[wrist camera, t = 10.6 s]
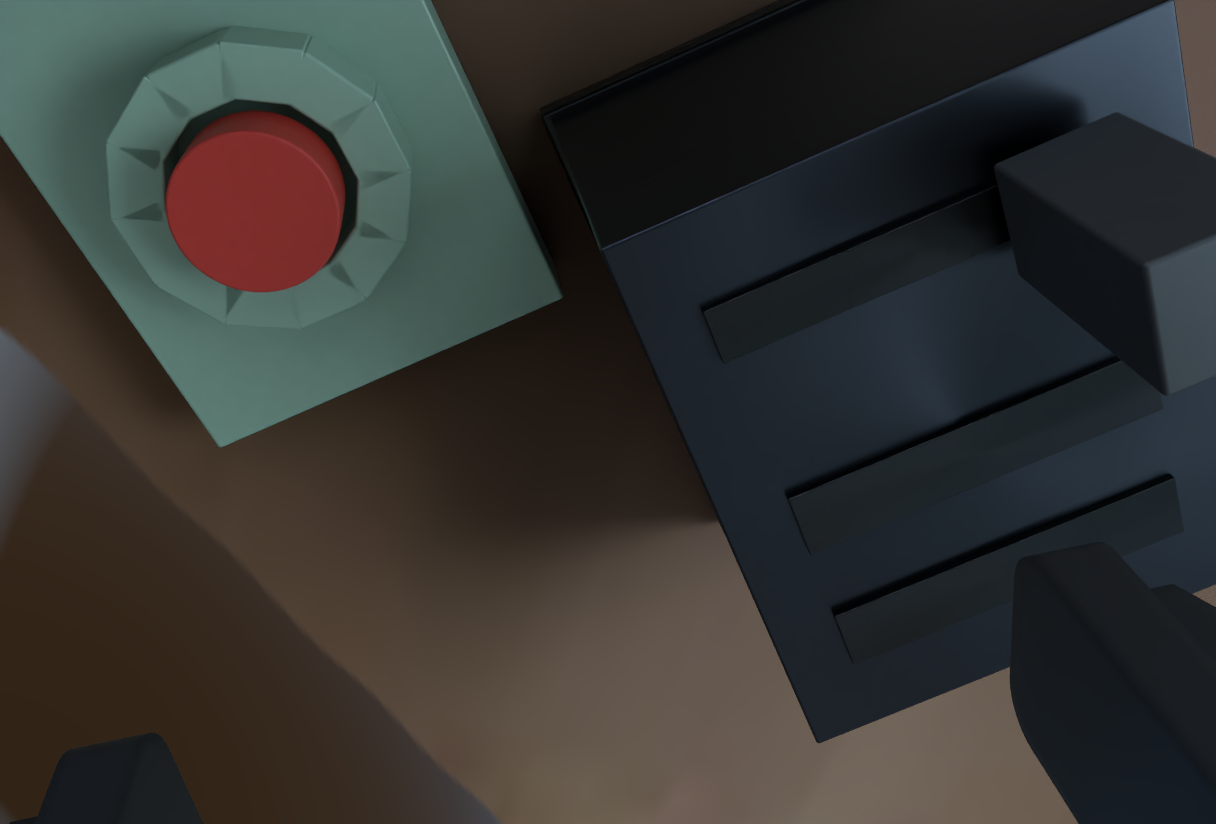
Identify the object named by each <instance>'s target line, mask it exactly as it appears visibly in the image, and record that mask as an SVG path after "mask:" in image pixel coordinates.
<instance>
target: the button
mask: <svg viewBox="0 0 1216 824" xmlns="http://www.w3.org/2000/svg"><path fill="white" fill-rule="evenodd" d="M345 198H346V197H345V184H344V179H343V175H342V172H341V169H340V166H339V164H338V162H337V160H336V158H335V156H334V155H333V153H332V152H331V150H330V149H329V147H328V146H327V145H326V144H325V142H324V141H323V140H322V139H321V138H320V137H319V136H318V135H317V134H316V133H314V132H313V131H312V130H310V129H309V128H308V127H306V126H305V125H303V124H301V123H300V122H298V121H296V120H294V119H292V118H289V117H287V116H284V115H281V114H277V113H273V112H267V111H253V110H252V111H241V112H237V113H232V114H229V115H226V116H223V117H221V118H219V119H217V120H215V121H213V122H212V123H210V124H209V125H207V126H206V127H205V128H203V129H202V130H201V131H200V132H199V133H198V134H197V135H196V136H195V138H194V139H193V140H192V142H191V143H190V145H189V146H188V148H187V149H186V151H185V152H184V154H183V155H182V157H181V158H180V160H179V162H178V163H177V165H176V166H175V168H174V170H173V172H172V174H171V176H170V179H169V182H168V185H167V191H166V200H165V208H166V217H167V221H168V225H169V229H170V231H171V233H172V236H173V238H174V240H175V242H176V244H177V245H178V247H179V249H180V250H181V251H182V253H183V254H184V255H185V257H186V258H187V259H188V260H189V261H190V262H191V263H192V264H193V265H194V266H195V267H196V268H197V269H198V270H200V271H201V272H202V273H203V274H205V275H206V276H208V277H210V278H211V279H213V280H215V281H217V282H219V283H221V284H223V285H226V286H228V287H231V288H234V289H238V290H242V291H248V292H275V291H280V290H284V289H288V288H291V287H294V286H296V285H299V284H300V283H302V282H304V281H306V280H308V279H309V278H310V277H312V276H313V275H315V274H316V273H317V272H318V271H319V270H320V269H321V268H322V267H323V266H324V265H325V263H326V262H327V261H328V260H329V258H330V256H331V255H332V253H333V251H334V249H335V247H336V244H337V242H338V238H339V234H340V229H341V224H342V219H343V213H344V208H345Z"/></svg>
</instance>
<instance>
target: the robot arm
mask: <svg viewBox="0 0 1216 824" xmlns="http://www.w3.org/2000/svg"><path fill="white" fill-rule="evenodd" d="M1010 689H1011V695H1012V700H1013V705H1014V709H1015V712H1016V716H1017V718H1018V721H1019V724H1020V727H1021V729H1022V732H1023V734H1024V736H1025V738H1026V740H1027V742H1028V744H1029V745H1030V747H1031V749H1032V750H1033V752H1034V754H1035V755H1036V757H1037V758H1038V760H1039V761H1040V763H1041V765H1042V766H1043V768H1044V769H1045V771H1046V773H1047V774H1048V776H1049V777H1050V779H1051V781H1052V782H1053V784H1054V785H1055V787H1056V788H1057V790H1058V792H1059V793H1060V795H1061V796H1062V798H1063V800H1064V801H1065V803H1066V804H1067V806H1068V807H1069V809H1070V811H1071V812H1072V814H1073V815H1074V817H1075V819H1076V820H1077V822H1078V823H1079V824H1216V607H1214V606H1212V605H1211V604H1209V603H1207V602H1205V601H1203V600H1202V599H1200V598H1198V597H1196V596H1194V595H1193V594H1191V593H1189V592H1187V591H1185V590H1183V589H1182V588H1180V587H1178V586H1176V585H1174V584H1170V585H1165V586H1160V587H1155V588H1151V589H1150V588H1149V587H1148V586H1147V585H1146V584H1145V583H1144V582H1143V581H1142V579H1141V578H1140V577H1139V576H1138V575H1137V574H1136V573H1135V572H1134V571H1133V570H1132V568H1131V567H1130V566H1129V565H1128V564H1127V563H1126V562H1125V561H1124V560H1123V558H1122V557H1121V556H1120V555H1119V554H1118V553H1117V552H1116V551H1115V550H1114V549H1113V548H1112V547H1111V546H1109V545H1108V544H1106V543H1103V542H1094V543H1089V544H1084V545H1079V546H1074V547H1069V548H1065V549H1060V550H1055V551H1050V552H1045V553H1040V554H1035V555H1030V556H1026V557H1023V558H1021V559H1020V560H1019V561H1018V563H1017V565H1016V569H1015V575H1014V594H1013V616H1012V638H1011V660H1010ZM10 824H203V822H202V819H201V817H200V815H199V813H198V811H197V808H196V806H195V804H194V802H193V800H192V798H191V795H190V793H189V791H188V789H187V787H186V785H185V783H184V780H183V778H182V776H181V774H180V772H179V770H178V768H177V765H176V763H175V761H174V759H173V756H172V754H171V752H170V750H169V748H168V746H167V744H166V742H165V741H164V740H163V738H161V736H159V735H158V734H156V733H147V734H142V735H138V736H133V737H128V738H123V739H118V740H113V741H108V742H103V743H98V744H93V745H89V746H84V747H79V748H75V749H70V750H68V751H67V752H65V753H64V754H63V755H62V757H61V758H60V760H59V762H58V764H57V766H56V769H55V771H54V774H53V777H52V779H51V782H50V785H49V787H48V790H47V793H46V795H45V798H44V801H43V803H42V806H41V809H40V811H39V814H38V816H37V817H33V818H28V819H23V820H19V821H14V822H10Z"/></svg>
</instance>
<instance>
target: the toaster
mask: <svg viewBox="0 0 1216 824" xmlns="http://www.w3.org/2000/svg"><path fill="white" fill-rule="evenodd" d="M1115 112H1120V113H1122V114H1124V115H1126V116H1128V117H1130V118H1132V119H1134V120H1137V121H1139V122H1141V123H1143V124H1145V125H1147V126H1149V127H1151V128H1153V129H1156V130H1158V131H1160V132H1162V133H1164V134H1166V135H1168V136H1170V137H1172V138H1175V139H1177V140H1179V141H1181V142H1183V143H1185V144H1187V145H1189V146H1191V147H1194V144H1193V136H1192V129H1191V122H1190V114H1189V107H1188V99H1187V92H1186V84H1185V77H1184V70H1183V62H1182V55H1181V47H1180V40H1179V32H1178V25H1177V17H1176V10H1175V3H1174V0H780V1H778V2H775V3H773V4H771V5H769V6H766V7H764V8H762V9H760V10H758V11H755V12H753V13H751V14H749V15H746V16H744V17H742V18H740V19H738V20H735V21H733V22H731V23H729V24H726V25H724V26H722V27H720V28H718V29H715V30H713V31H711V32H709V33H706V34H704V35H702V36H700V37H698V38H695V39H693V40H691V41H689V42H686V43H684V44H682V45H680V46H678V47H675V48H673V49H671V50H669V51H666V52H664V53H662V54H660V55H658V56H655V57H653V58H651V59H649V60H646V61H644V62H642V63H640V64H638V65H635V66H633V67H631V68H629V69H626V70H624V71H622V72H620V73H618V74H615V75H613V76H611V77H609V78H607V79H604V80H602V81H600V82H598V83H595V84H593V85H591V86H589V87H587V88H584V89H582V90H580V91H578V92H575V93H573V94H571V95H569V96H567V97H564V98H562V99H560V100H558V101H555V102H553V103H551V104H549V105H547V106H544V107H542V108H541V109H540V110H539V113H540V116H541V119H542V121H543V124H544V126H545V128H546V130H547V133H548V135H549V137H550V139H551V142H552V144H553V146H554V148H555V151H556V153H557V155H558V158H559V160H560V162H561V164H562V167H563V169H564V171H565V173H566V176H567V178H568V180H569V182H570V185H571V187H572V189H573V192H574V194H575V196H576V198H577V201H578V203H579V205H580V207H581V210H582V212H583V214H584V217H585V219H586V221H587V223H588V226H589V228H590V230H591V232H592V235H593V237H594V239H595V241H596V244H597V246H598V248H599V251H600V253H601V255H602V257H603V260H604V262H605V264H606V266H607V269H608V271H609V273H610V275H611V278H612V280H613V282H614V285H615V287H616V289H617V291H618V294H619V296H620V298H621V300H622V303H623V305H624V307H625V310H626V312H627V314H628V316H629V319H630V321H631V323H632V325H633V328H634V330H635V332H636V334H637V337H638V339H639V341H640V344H641V346H642V348H643V350H644V353H645V355H646V357H647V359H648V362H649V364H650V366H651V368H652V371H653V373H654V375H655V378H656V380H657V382H658V384H659V387H660V389H661V391H662V393H663V396H664V398H665V400H666V402H667V405H668V407H669V409H670V412H671V414H672V416H673V418H674V421H675V423H676V425H677V427H678V430H679V432H680V434H681V437H682V439H683V441H684V443H685V446H686V448H687V450H688V452H689V455H690V457H691V459H692V461H693V464H694V466H695V468H696V471H697V473H698V475H699V477H700V480H701V482H702V484H703V486H704V489H705V491H706V493H707V495H708V498H709V500H710V502H711V505H712V507H713V509H714V511H715V514H716V516H717V518H718V520H719V523H720V525H721V527H722V530H723V532H724V533H725V536H726V538H727V540H728V543H729V545H730V547H731V549H732V552H733V554H734V556H735V558H736V561H737V563H738V565H739V567H740V570H741V572H742V574H743V577H744V579H745V581H746V583H747V586H748V588H749V590H750V592H751V595H752V597H753V599H754V601H755V604H756V606H757V608H758V611H759V613H760V615H761V617H762V620H763V622H764V624H765V626H766V629H767V631H768V633H769V636H770V638H771V640H772V642H773V645H774V647H775V649H776V651H777V654H778V656H779V658H780V660H781V663H782V665H783V667H784V670H785V672H786V674H787V676H788V679H789V681H790V683H791V685H792V688H793V690H794V692H795V695H796V697H797V699H798V701H799V704H800V706H801V708H802V710H803V713H804V715H805V717H806V719H807V722H808V724H809V726H810V729H811V731H812V733H813V735H814V738H815V740H816V742H817V743H821V742H824V741H826V740H829V739H831V738H834V737H836V736H839V735H841V734H844V733H846V732H849V731H851V730H854V729H856V728H859V727H861V726H864V725H866V724H869V723H871V722H874V721H876V720H879V719H881V718H884V717H886V716H889V715H891V714H894V713H896V712H899V711H901V710H904V709H906V708H909V707H911V706H913V705H916V704H918V703H921V702H923V701H926V700H928V699H931V698H933V697H936V696H938V695H941V694H943V693H946V692H948V691H951V690H953V689H956V688H958V687H961V686H963V685H966V684H968V683H971V682H973V681H976V680H978V679H981V678H983V677H986V676H988V675H991V674H993V673H996V672H998V671H1001V670H1003V669H1006V668H1008V667H1010V660H1011V638H1012V616H1013V594H1014V575H1015V569H1016V565H1017V563H1018V561H1019V560H1020V559H1021V558H1023V557H1026V556H1030V555H1035V554H1040V553H1045V552H1050V551H1055V550H1060V549H1065V548H1069V547H1074V546H1079V545H1084V544H1089V543H1094V542H1103V543H1106V544H1108V545H1109V546H1111V547H1112V548H1113V549H1114V550H1115V551H1116V552H1117V553H1118V554H1119V555H1120V556H1121V557H1122V558H1123V560H1124V561H1125V562H1126V563H1127V564H1128V565H1129V566H1130V567H1131V568H1132V570H1133V571H1134V572H1135V573H1136V574H1137V575H1138V576H1139V577H1140V578H1141V579H1142V581H1143V582H1144V583H1145V584H1146V585H1147V586H1148V587H1149V588H1150V589H1151V588H1155V587H1160V586H1165V585H1170V584H1174V585H1176V586H1178V587H1180V588H1182V589H1183V590H1185V591H1187V592H1189V593H1191V594H1193V593H1195V592H1198V591H1200V590H1203V589H1205V588H1207V587H1210V586H1212V585H1215V584H1216V377H1214V378H1212V379H1209V380H1207V381H1205V382H1202V383H1200V384H1197V385H1195V386H1193V387H1190V388H1188V389H1185V390H1183V391H1181V392H1178V393H1176V394H1173V395H1171V396H1164V395H1163V394H1161V393H1160V392H1159V391H1158V390H1157V389H1155V388H1154V387H1153V386H1152V385H1151V384H1149V383H1148V382H1147V381H1146V380H1144V379H1143V378H1142V377H1141V376H1140V375H1138V374H1137V373H1136V372H1135V371H1134V370H1132V369H1131V368H1130V367H1129V366H1128V365H1126V364H1125V363H1124V362H1123V361H1122V360H1120V359H1119V358H1118V357H1117V356H1116V355H1114V354H1113V353H1112V352H1111V351H1109V350H1108V349H1107V348H1106V347H1105V346H1103V345H1102V344H1101V343H1100V342H1099V341H1097V340H1096V339H1095V338H1094V337H1093V336H1091V335H1090V334H1089V333H1088V332H1087V331H1085V330H1084V329H1083V328H1082V327H1080V326H1079V325H1078V324H1077V323H1076V322H1074V321H1073V320H1072V319H1071V318H1070V317H1068V316H1067V315H1066V314H1065V313H1064V312H1062V311H1061V310H1060V309H1059V308H1058V307H1056V306H1055V305H1054V304H1053V303H1052V302H1050V301H1049V300H1048V299H1047V298H1045V297H1044V296H1043V295H1042V294H1041V293H1039V292H1038V291H1037V290H1036V289H1035V288H1033V287H1032V286H1031V285H1030V284H1029V283H1027V282H1026V281H1025V280H1024V279H1023V278H1021V277H1020V276H1019V274H1018V270H1017V266H1016V262H1015V257H1014V253H1013V249H1012V244H1011V240H1010V236H1009V231H1008V227H1007V223H1006V219H1005V214H1004V210H1003V206H1002V201H1001V197H1000V193H999V188H998V184H997V180H996V176H995V171H994V166H995V165H996V164H997V163H999V162H1002V161H1004V160H1006V159H1009V158H1011V157H1013V156H1015V155H1018V154H1020V153H1022V152H1025V151H1027V150H1029V149H1032V148H1034V147H1036V146H1039V145H1041V144H1043V143H1045V142H1048V141H1050V140H1052V139H1055V138H1057V137H1059V136H1062V135H1064V134H1066V133H1068V132H1071V131H1073V130H1075V129H1078V128H1080V127H1082V126H1085V125H1087V124H1089V123H1092V122H1094V121H1096V120H1098V119H1101V118H1103V117H1105V116H1108V115H1110V114H1112V113H1115Z"/></svg>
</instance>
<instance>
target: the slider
mask: <svg viewBox="0 0 1216 824" xmlns="http://www.w3.org/2000/svg"><path fill="white" fill-rule="evenodd" d="M994 171H995V176H996V180H997V184H998V188H999V193H1000V197H1001V201H1002V206H1003V210H1004V214H1005V219H1006V223H1007V227H1008V231H1009V236H1010V240H1011V244H1012V249H1013V253H1014V257H1015V262H1016V266H1017V270H1018V274H1019V276H1020V277H1021V278H1023V279H1024V280H1025V281H1026V282H1027V283H1029V284H1030V285H1031V286H1032V287H1033V288H1035V289H1036V290H1037V291H1038V292H1039V293H1041V294H1042V295H1043V296H1044V297H1045V298H1047V299H1048V300H1049V301H1050V302H1052V303H1053V304H1054V305H1055V306H1056V307H1058V308H1059V309H1060V310H1061V311H1062V312H1064V313H1065V314H1066V315H1067V316H1068V317H1070V318H1071V319H1072V320H1073V321H1074V322H1076V323H1077V324H1078V325H1079V326H1080V327H1082V328H1083V329H1084V330H1085V331H1087V332H1088V333H1089V334H1090V335H1091V336H1093V337H1094V338H1095V339H1096V340H1097V341H1099V342H1100V343H1101V344H1102V345H1103V346H1105V347H1106V348H1107V349H1108V350H1109V351H1111V352H1112V353H1113V354H1114V355H1116V356H1117V357H1118V358H1119V359H1120V360H1122V361H1123V362H1124V363H1125V364H1126V365H1128V366H1129V367H1130V368H1131V369H1132V370H1134V371H1135V372H1136V373H1137V374H1138V375H1140V376H1141V377H1142V378H1143V379H1144V380H1146V381H1147V382H1148V383H1149V384H1151V385H1152V386H1153V387H1154V388H1155V389H1157V390H1158V391H1159V392H1160V393H1161V394H1163V395H1164V396H1171V395H1173V394H1176V393H1178V392H1181V391H1183V390H1185V389H1188V388H1190V387H1193V386H1195V385H1197V384H1200V383H1202V382H1205V381H1207V380H1209V379H1212V378H1214V377H1216V158H1215V157H1213V156H1210V155H1208V154H1206V153H1204V152H1202V151H1200V150H1198V149H1196V148H1194V147H1191V146H1189V145H1187V144H1185V143H1183V142H1181V141H1179V140H1177V139H1175V138H1172V137H1170V136H1168V135H1166V134H1164V133H1162V132H1160V131H1158V130H1156V129H1153V128H1151V127H1149V126H1147V125H1145V124H1143V123H1141V122H1139V121H1137V120H1134V119H1132V118H1130V117H1128V116H1126V115H1124V114H1122V113H1120V112H1115V113H1112V114H1110V115H1108V116H1105V117H1103V118H1101V119H1098V120H1096V121H1094V122H1092V123H1089V124H1087V125H1085V126H1082V127H1080V128H1078V129H1075V130H1073V131H1071V132H1068V133H1066V134H1064V135H1062V136H1059V137H1057V138H1055V139H1052V140H1050V141H1048V142H1045V143H1043V144H1041V145H1039V146H1036V147H1034V148H1032V149H1029V150H1027V151H1025V152H1022V153H1020V154H1018V155H1015V156H1013V157H1011V158H1009V159H1006V160H1004V161H1002V162H999V163H997V164H996V165H995V166H994Z"/></svg>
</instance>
